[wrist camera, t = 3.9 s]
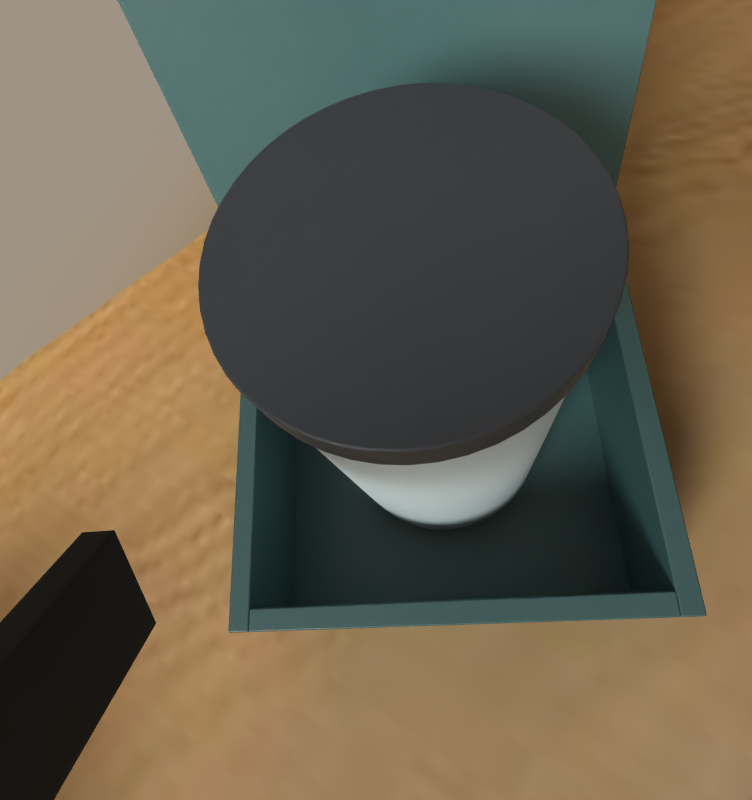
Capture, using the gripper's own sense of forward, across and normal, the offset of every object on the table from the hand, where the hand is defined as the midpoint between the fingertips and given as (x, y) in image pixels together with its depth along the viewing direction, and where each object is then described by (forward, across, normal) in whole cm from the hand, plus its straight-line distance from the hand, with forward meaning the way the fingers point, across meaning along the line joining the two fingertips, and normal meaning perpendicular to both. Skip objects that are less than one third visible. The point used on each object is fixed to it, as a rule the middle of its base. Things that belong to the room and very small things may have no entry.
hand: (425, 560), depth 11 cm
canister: (+15, 0, -6) cm, 16 cm away
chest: (+15, 0, -6) cm, 16 cm away
